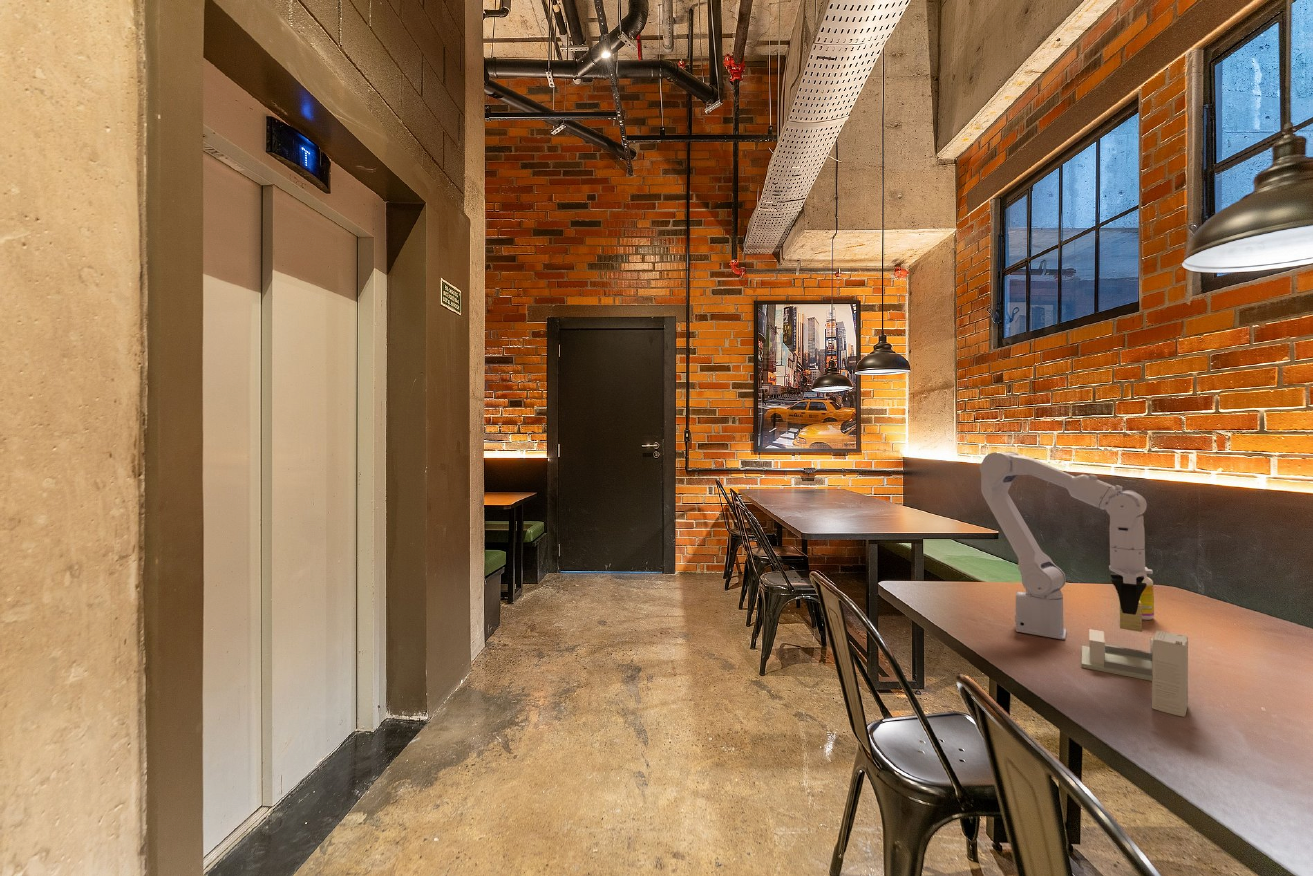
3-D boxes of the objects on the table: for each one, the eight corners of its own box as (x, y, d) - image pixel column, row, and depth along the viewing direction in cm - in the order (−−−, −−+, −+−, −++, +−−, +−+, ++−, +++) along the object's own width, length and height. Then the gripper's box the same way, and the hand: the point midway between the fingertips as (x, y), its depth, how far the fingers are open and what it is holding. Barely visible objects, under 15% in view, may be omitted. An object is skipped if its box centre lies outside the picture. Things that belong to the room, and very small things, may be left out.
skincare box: (1154, 697, 96) (1153, 629, 96) (1190, 706, 93) (1188, 635, 93) (1151, 709, 92) (1149, 638, 92) (1188, 719, 89) (1186, 644, 89)
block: (1119, 628, 116) (1119, 602, 116) (1118, 622, 120) (1118, 597, 120) (1141, 632, 114) (1141, 605, 114) (1140, 626, 117) (1140, 600, 117)
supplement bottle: (1160, 621, 136) (1159, 570, 136) (1130, 620, 137) (1129, 569, 138) (1142, 613, 143) (1141, 564, 143) (1113, 611, 144) (1112, 563, 144)
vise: (1081, 667, 109) (1081, 641, 109) (1082, 649, 119) (1081, 625, 119) (1177, 686, 101) (1177, 657, 101) (1169, 664, 110) (1169, 639, 110)
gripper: (1155, 555, 109) (1157, 623, 109) (1148, 544, 120) (1150, 605, 120) (1109, 551, 113) (1111, 616, 113) (1107, 541, 125) (1108, 600, 125)
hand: (1128, 610), depth 117 cm, fingers closed on block, 4 cm apart
